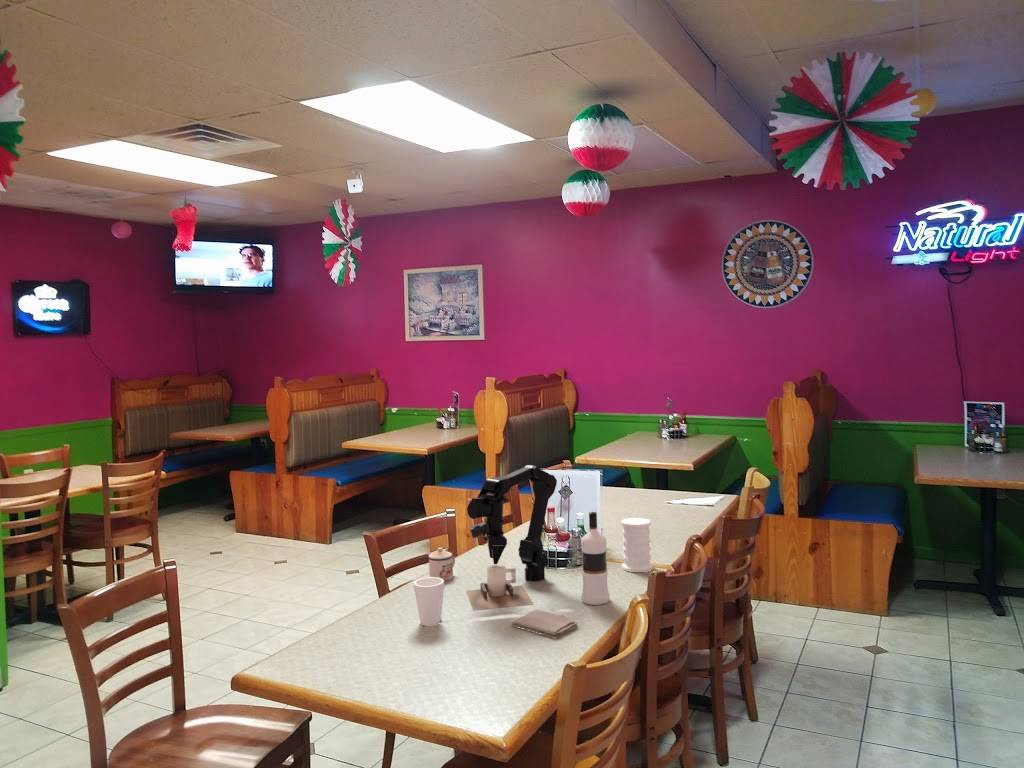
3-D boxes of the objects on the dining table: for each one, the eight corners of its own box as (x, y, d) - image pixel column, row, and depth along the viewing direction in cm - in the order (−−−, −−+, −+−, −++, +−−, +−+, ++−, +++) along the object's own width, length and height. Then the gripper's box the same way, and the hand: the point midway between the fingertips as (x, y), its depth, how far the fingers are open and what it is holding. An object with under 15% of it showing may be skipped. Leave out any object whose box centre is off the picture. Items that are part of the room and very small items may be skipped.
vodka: (577, 599, 255) (574, 510, 253) (601, 594, 258) (599, 507, 257) (589, 607, 247) (586, 516, 245) (614, 603, 250) (611, 513, 248)
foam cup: (450, 618, 242) (448, 578, 241) (438, 629, 233) (436, 587, 232) (423, 615, 245) (421, 576, 244) (410, 626, 236) (408, 585, 236)
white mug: (489, 597, 257) (488, 571, 257) (486, 591, 264) (485, 565, 263) (517, 594, 259) (516, 568, 258) (514, 588, 265) (513, 563, 265)
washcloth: (557, 641, 222) (557, 630, 222) (509, 628, 233) (509, 618, 233) (580, 628, 231) (579, 618, 231) (533, 616, 242) (532, 607, 242)
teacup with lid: (442, 584, 276) (440, 552, 276) (424, 580, 282) (422, 549, 281) (463, 575, 286) (462, 544, 285) (446, 571, 291) (444, 541, 291)
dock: (522, 588, 269) (522, 578, 268) (533, 607, 249) (533, 596, 249) (466, 593, 265) (465, 583, 265) (473, 613, 245) (472, 602, 245)
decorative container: (643, 562, 294) (642, 516, 293) (658, 570, 283) (657, 522, 282) (616, 566, 290) (615, 519, 289) (630, 574, 279) (629, 526, 278)
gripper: (468, 511, 268) (467, 555, 268) (474, 520, 250) (473, 568, 250) (499, 510, 270) (498, 554, 270) (507, 520, 252) (506, 567, 252)
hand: (493, 561), depth 260 cm, fingers open, 9 cm apart
